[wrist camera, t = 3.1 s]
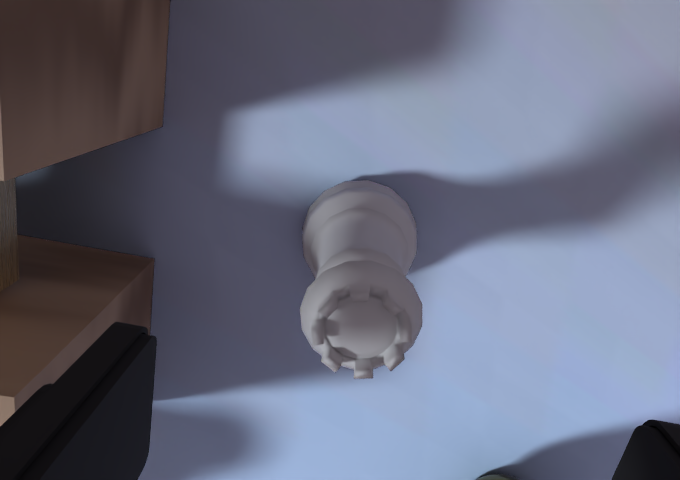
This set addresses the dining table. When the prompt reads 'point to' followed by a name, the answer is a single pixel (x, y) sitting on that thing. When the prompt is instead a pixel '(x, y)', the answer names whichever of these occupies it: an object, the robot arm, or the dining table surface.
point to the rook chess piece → (360, 278)
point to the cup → (498, 477)
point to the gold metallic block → (8, 234)
